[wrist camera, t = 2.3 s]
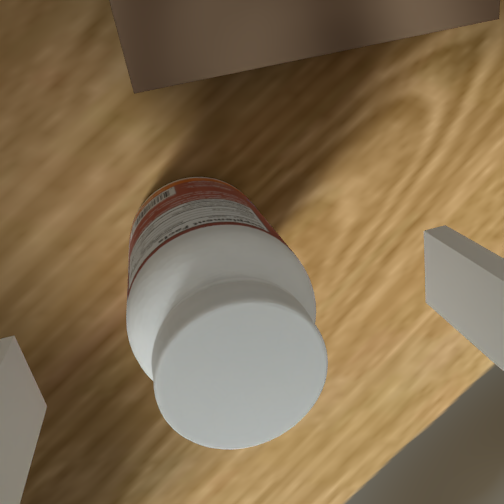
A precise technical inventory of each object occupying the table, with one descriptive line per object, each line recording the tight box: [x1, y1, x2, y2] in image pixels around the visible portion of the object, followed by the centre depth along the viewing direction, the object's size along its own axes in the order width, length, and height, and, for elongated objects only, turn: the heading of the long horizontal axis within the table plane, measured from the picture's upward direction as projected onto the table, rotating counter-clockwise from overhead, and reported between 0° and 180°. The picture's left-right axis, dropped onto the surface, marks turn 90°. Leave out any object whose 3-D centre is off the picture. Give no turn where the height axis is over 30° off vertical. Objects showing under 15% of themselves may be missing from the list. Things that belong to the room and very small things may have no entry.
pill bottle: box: [126, 177, 328, 450], centre depth 17 cm, size 6×6×11 cm
